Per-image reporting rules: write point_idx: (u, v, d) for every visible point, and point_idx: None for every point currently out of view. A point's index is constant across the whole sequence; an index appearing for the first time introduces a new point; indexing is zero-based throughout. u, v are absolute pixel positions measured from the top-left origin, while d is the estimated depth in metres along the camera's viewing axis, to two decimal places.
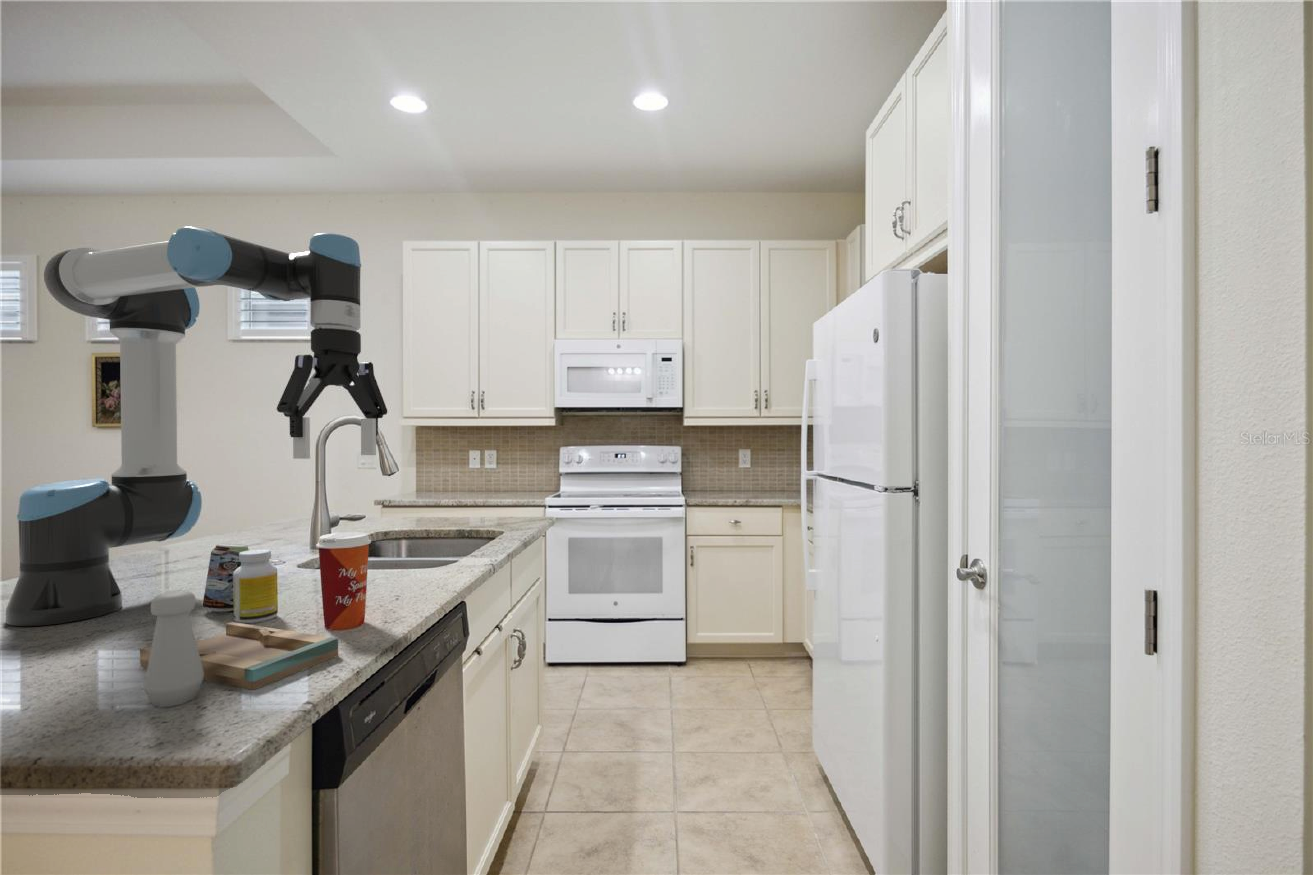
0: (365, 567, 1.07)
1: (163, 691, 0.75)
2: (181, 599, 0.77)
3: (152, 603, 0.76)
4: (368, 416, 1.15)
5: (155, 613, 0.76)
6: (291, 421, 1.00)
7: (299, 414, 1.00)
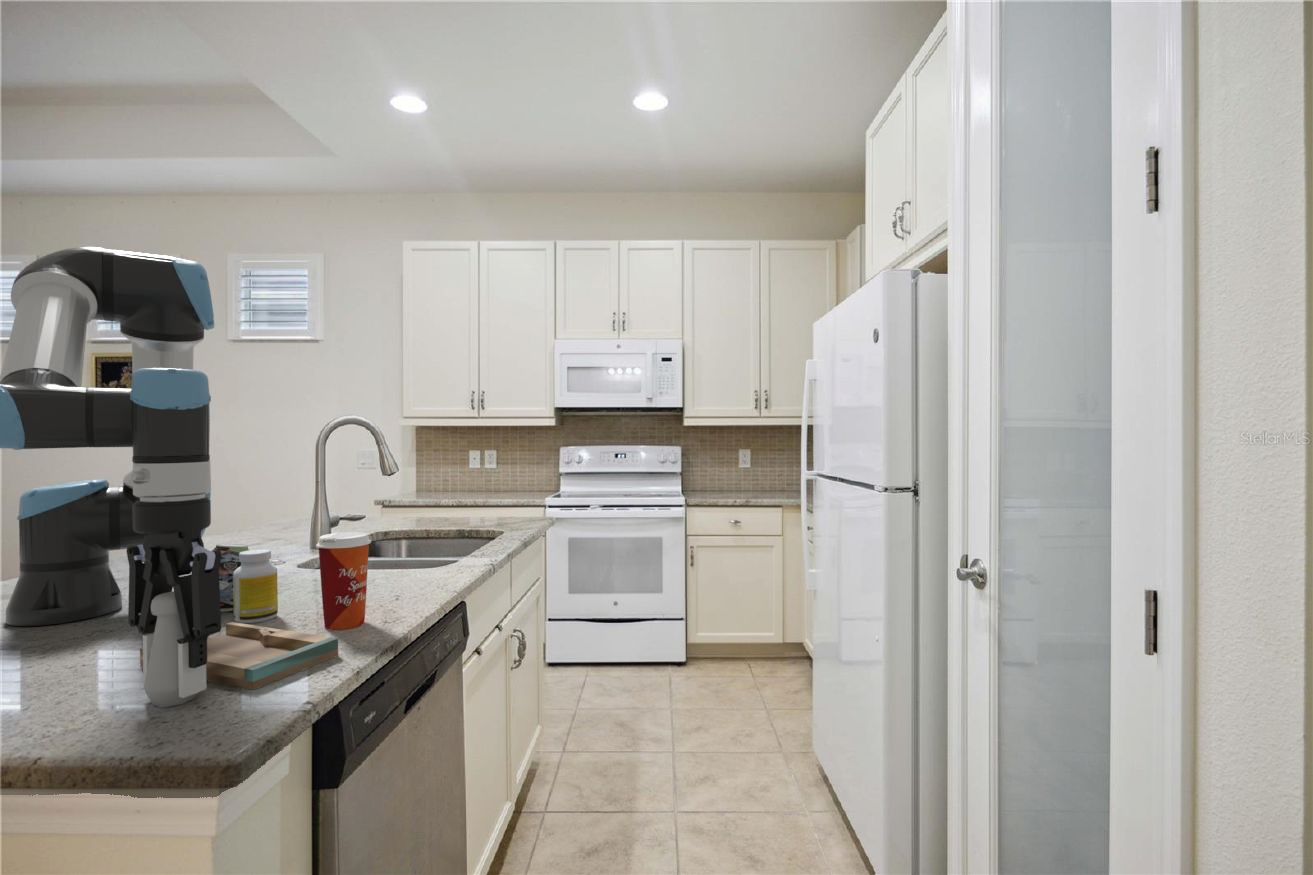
0: (365, 567, 1.07)
1: (163, 691, 0.75)
2: None
3: (152, 603, 0.76)
4: None
5: (155, 613, 0.76)
6: None
7: (140, 631, 0.78)
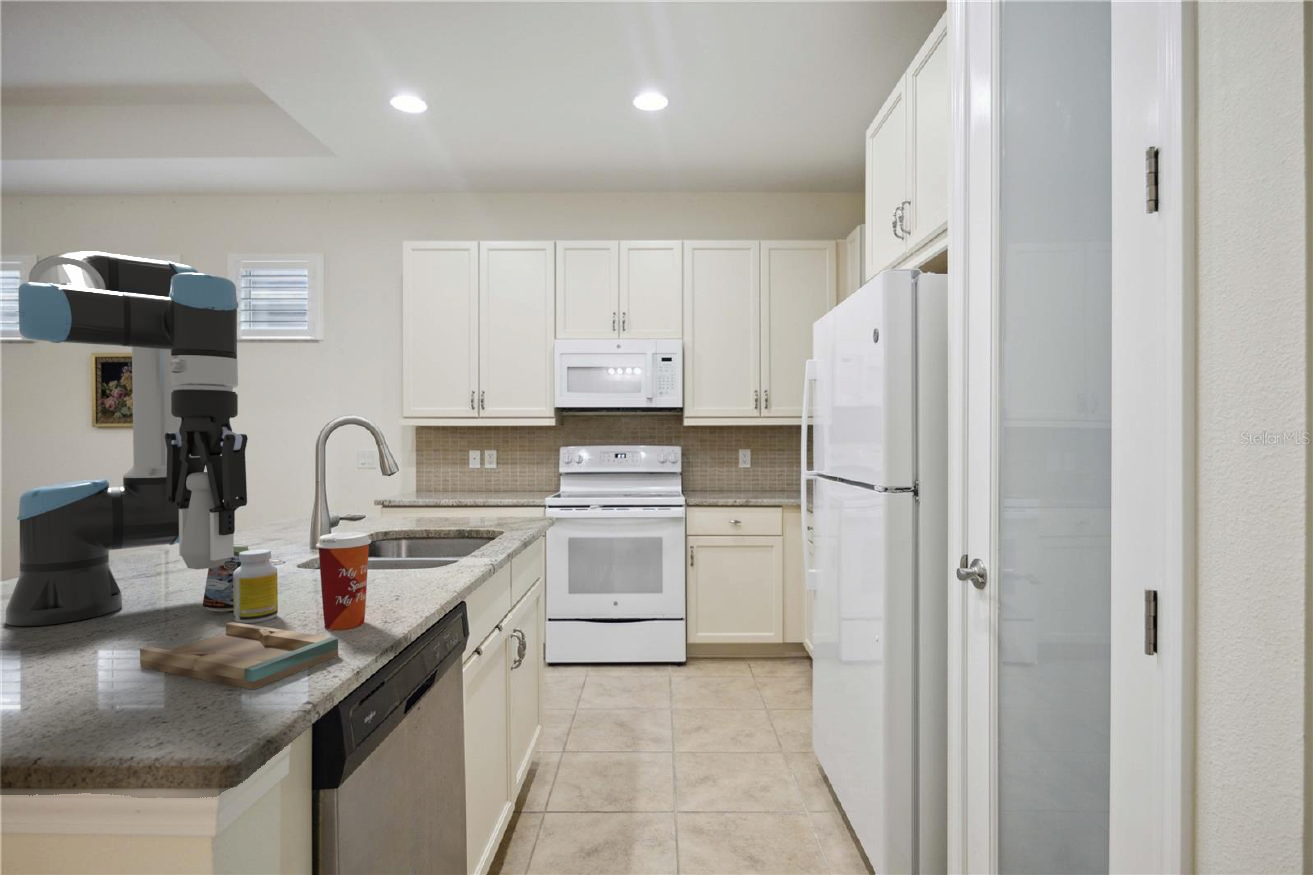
0: (365, 567, 1.07)
1: (197, 554, 0.87)
2: None
3: (187, 479, 0.87)
4: None
5: (190, 487, 0.87)
6: None
7: (176, 506, 0.90)
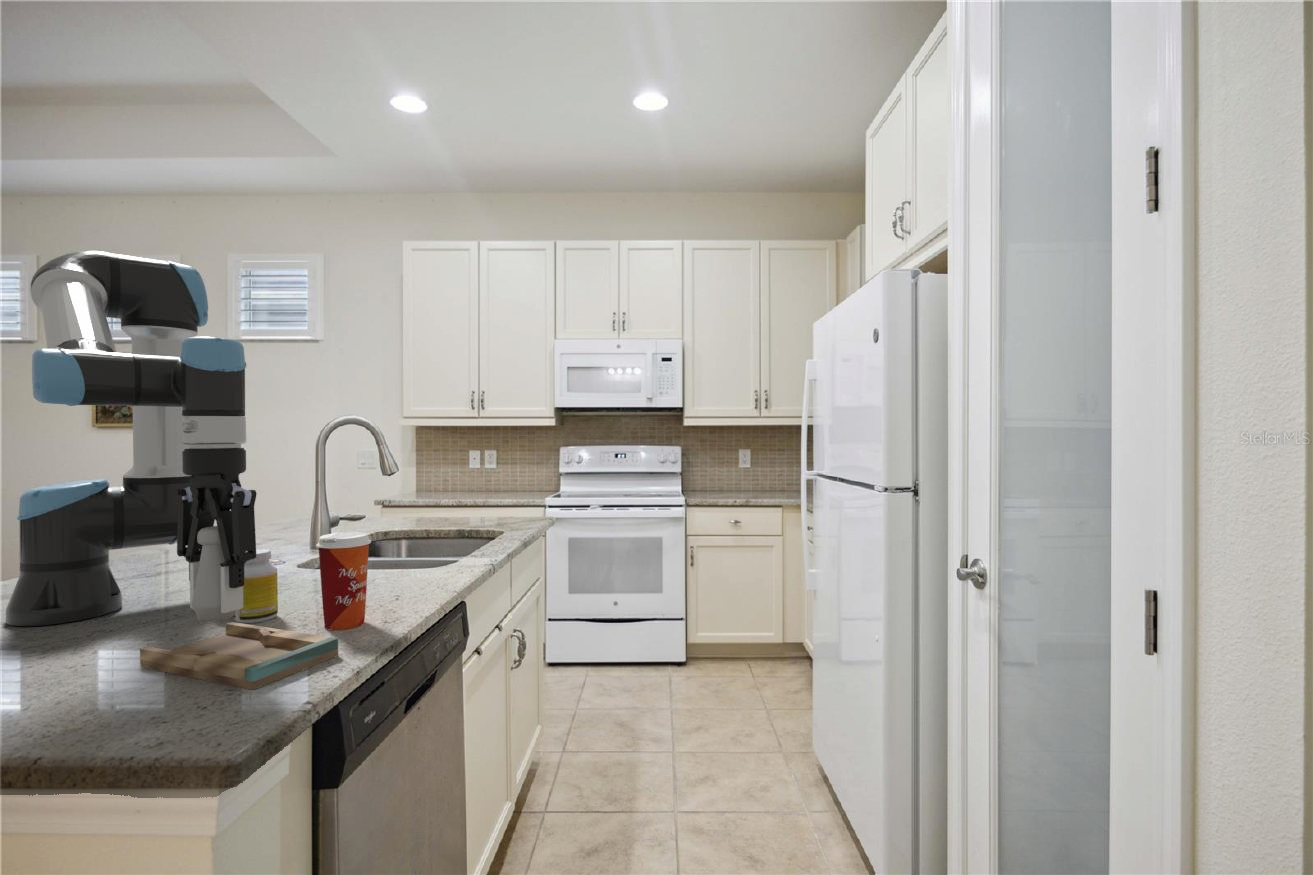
0: (365, 567, 1.07)
1: (208, 607, 0.90)
2: None
3: (198, 534, 0.91)
4: None
5: (201, 542, 0.90)
6: None
7: (187, 560, 0.93)
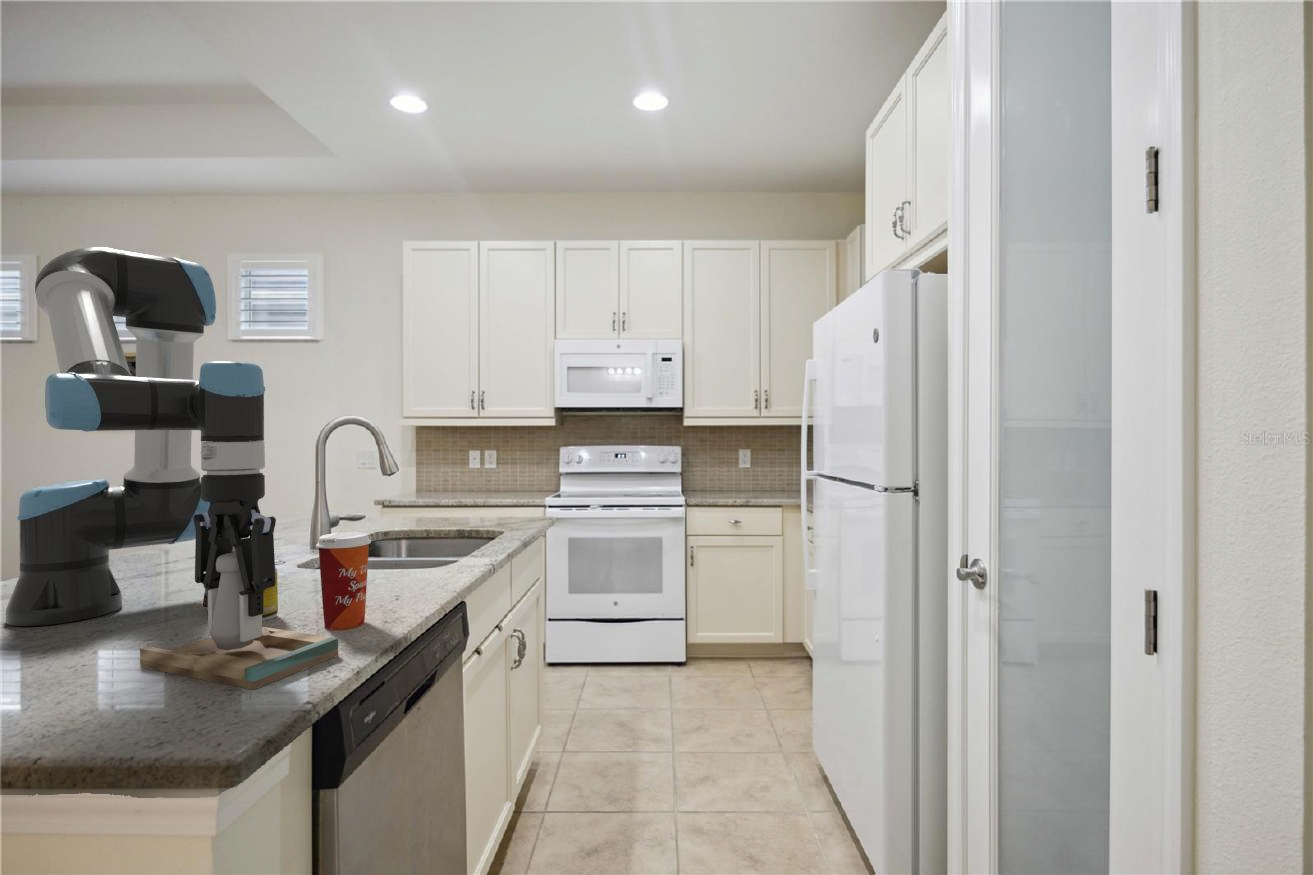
0: (365, 567, 1.07)
1: (227, 635, 0.88)
2: None
3: (217, 561, 0.89)
4: None
5: (220, 570, 0.89)
6: None
7: (205, 587, 0.91)
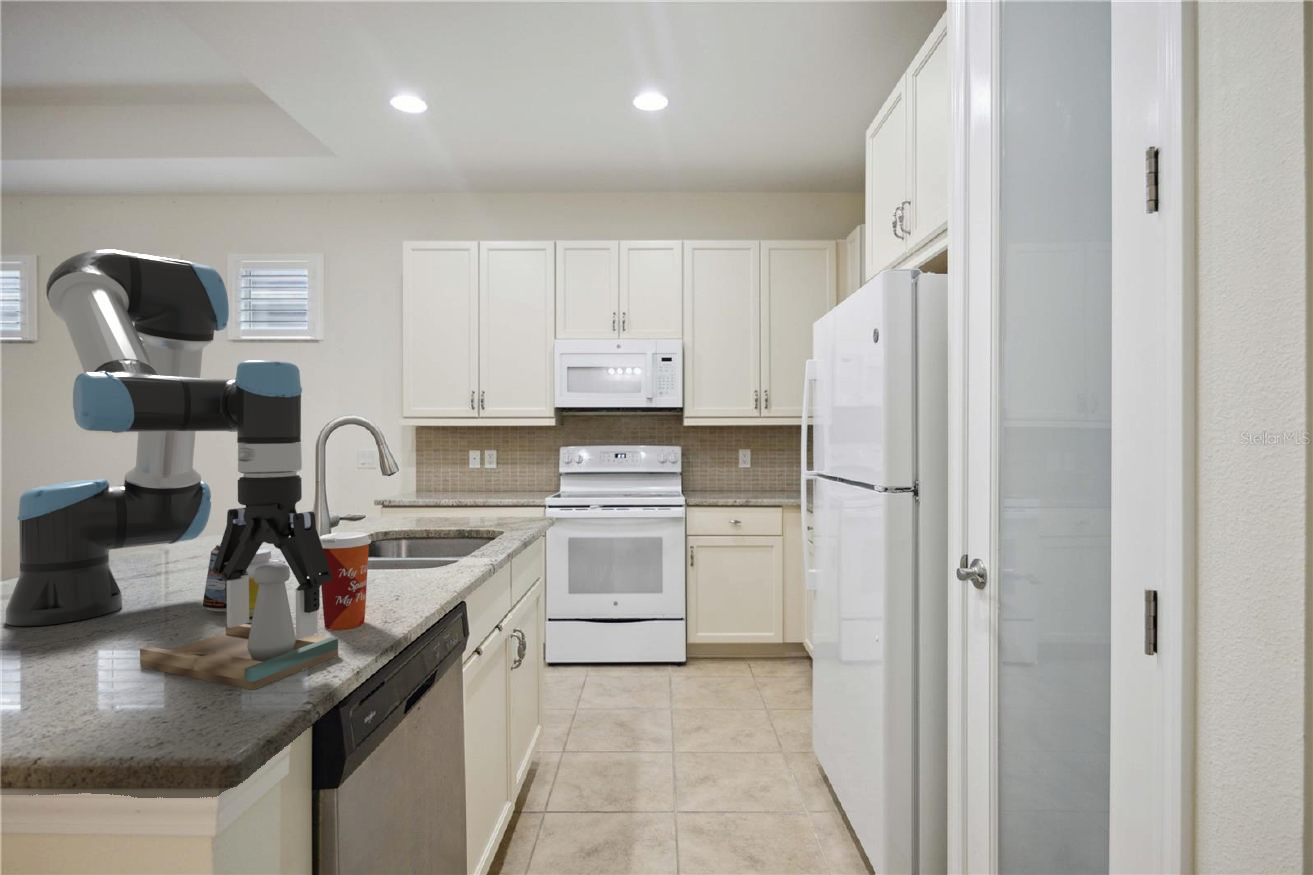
0: (365, 567, 1.07)
1: (265, 649, 0.86)
2: (280, 569, 0.88)
3: (255, 573, 0.87)
4: None
5: (258, 581, 0.87)
6: None
7: (223, 577, 0.90)
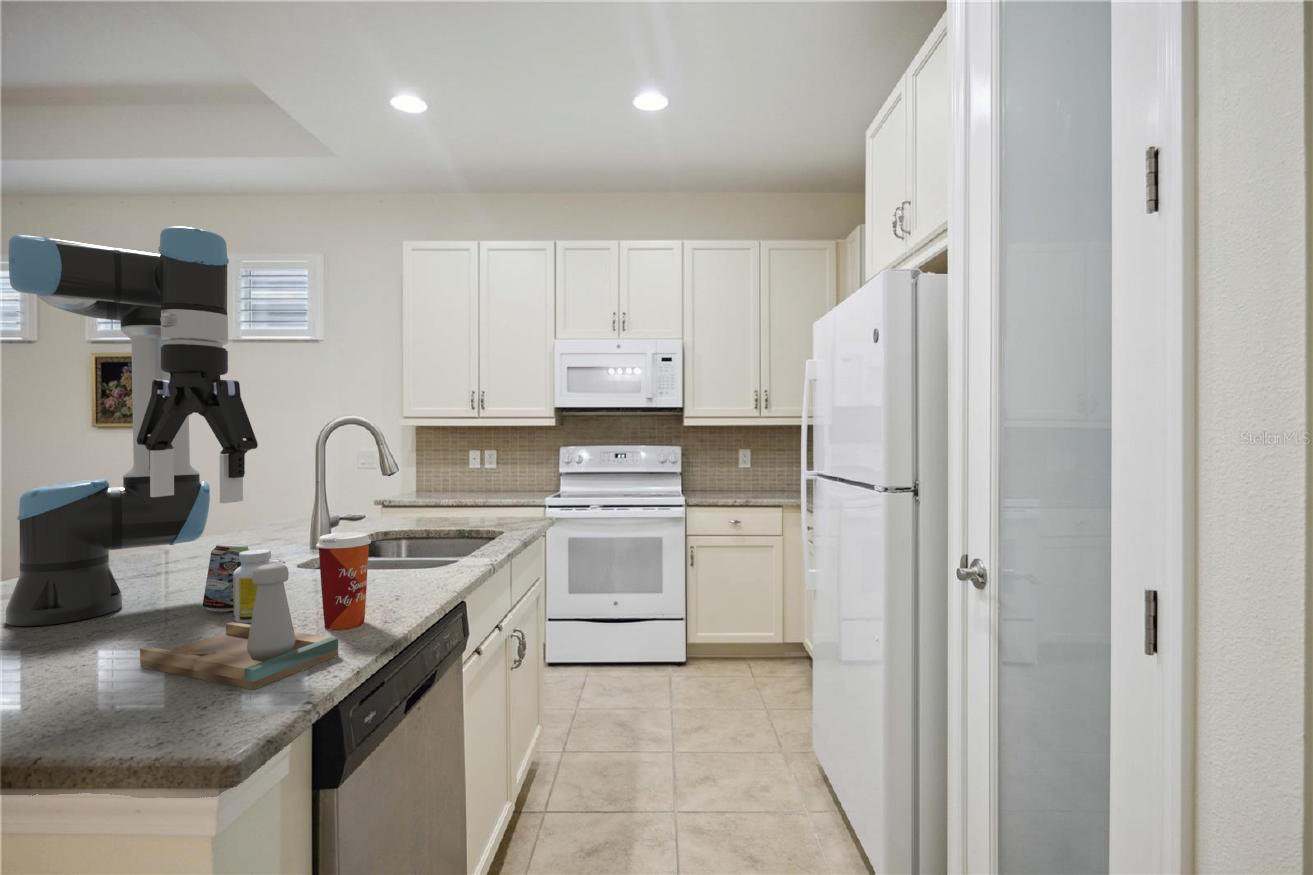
0: (365, 567, 1.07)
1: (265, 650, 0.86)
2: (278, 570, 0.87)
3: (254, 574, 0.87)
4: None
5: (257, 582, 0.86)
6: None
7: (146, 447, 0.90)
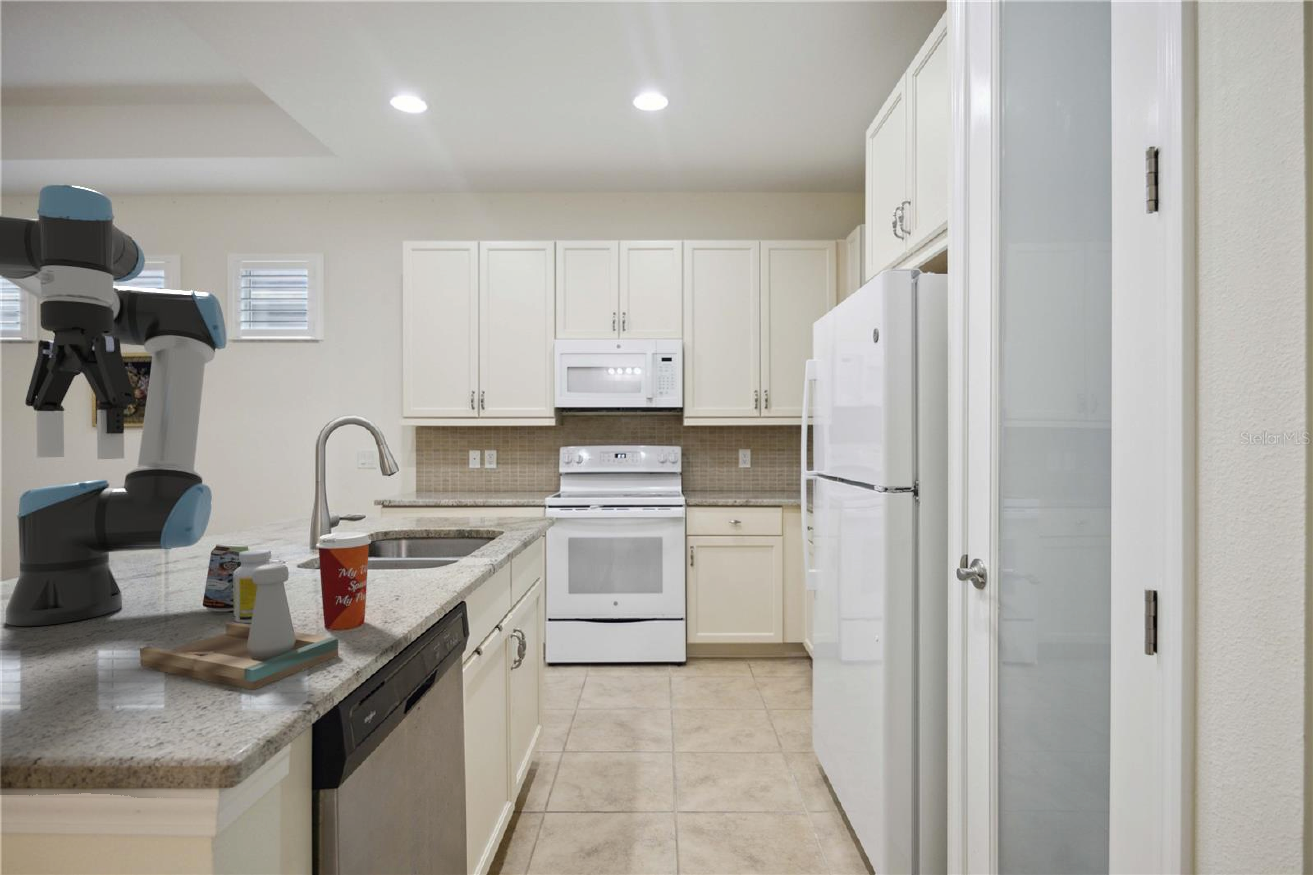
0: (365, 567, 1.07)
1: (265, 650, 0.86)
2: (278, 570, 0.87)
3: (254, 574, 0.87)
4: None
5: (257, 582, 0.86)
6: None
7: (34, 408, 0.91)
